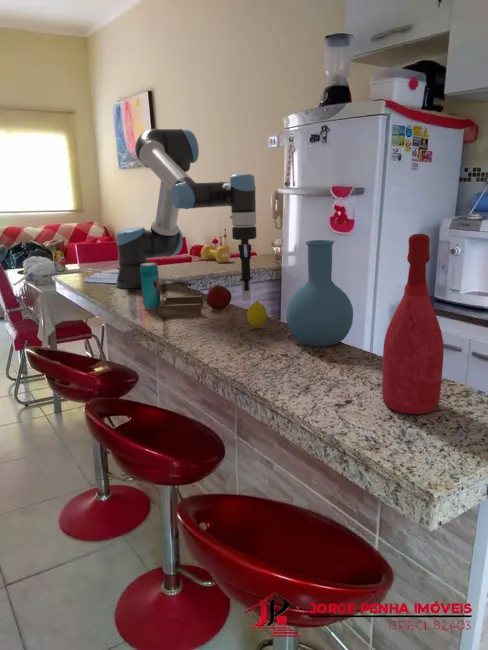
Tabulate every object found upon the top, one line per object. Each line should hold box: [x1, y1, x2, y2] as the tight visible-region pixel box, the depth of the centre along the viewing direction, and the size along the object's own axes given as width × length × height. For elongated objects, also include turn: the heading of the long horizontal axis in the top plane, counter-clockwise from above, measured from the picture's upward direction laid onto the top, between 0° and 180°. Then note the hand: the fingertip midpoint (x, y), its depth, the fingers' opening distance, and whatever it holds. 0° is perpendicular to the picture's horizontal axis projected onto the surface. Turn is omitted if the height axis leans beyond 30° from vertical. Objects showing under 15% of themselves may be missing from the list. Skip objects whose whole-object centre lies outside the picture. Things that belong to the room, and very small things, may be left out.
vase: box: [285, 239, 354, 347], centre depth 124 cm, size 16×16×25 cm
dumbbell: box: [200, 244, 231, 264], centre depth 271 cm, size 19×9×8 cm, turn 34°
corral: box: [157, 295, 204, 318], centre depth 163 cm, size 13×13×4 cm
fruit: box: [246, 300, 268, 329], centre depth 140 cm, size 6×6×8 cm
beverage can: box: [140, 262, 162, 311], centre depth 167 cm, size 6×6×15 cm
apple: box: [205, 284, 232, 311], centre depth 163 cm, size 8×8×8 cm
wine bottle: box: [381, 233, 445, 415], centre depth 85 cm, size 10×10×30 cm
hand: (246, 300), depth 163 cm, fingers closed
